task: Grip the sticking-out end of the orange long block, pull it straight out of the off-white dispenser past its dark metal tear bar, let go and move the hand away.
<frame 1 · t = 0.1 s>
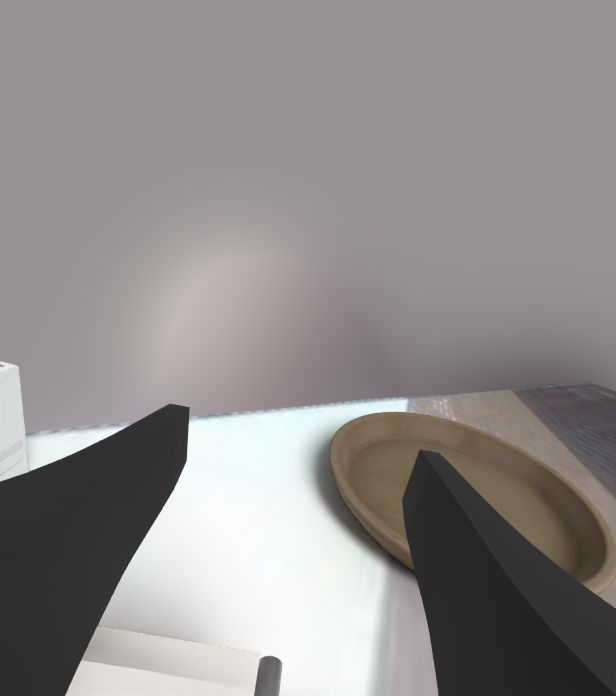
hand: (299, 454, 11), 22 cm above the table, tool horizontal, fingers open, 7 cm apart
plant saucer: (446, 503, 44), on the table
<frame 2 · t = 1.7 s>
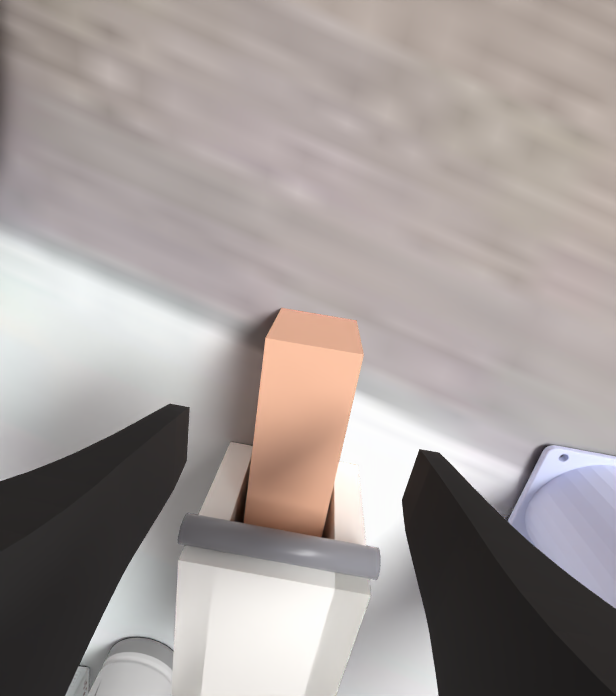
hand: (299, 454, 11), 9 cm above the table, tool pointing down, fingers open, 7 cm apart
supplement box: (54, 677, 33), on the table
dispenser: (280, 525, 24), on the table
travel mug: (149, 656, 31), on the table
orange long block: (297, 437, 22), resting in dispenser
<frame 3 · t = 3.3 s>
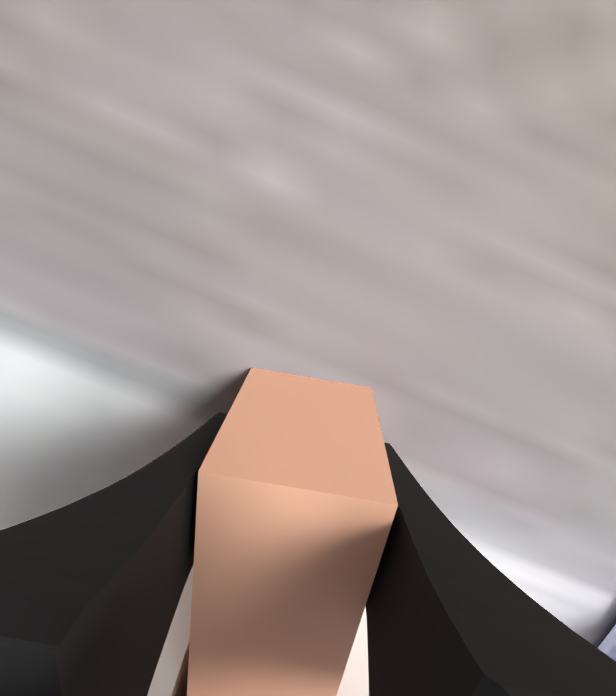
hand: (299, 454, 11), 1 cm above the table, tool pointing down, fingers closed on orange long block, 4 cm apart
dispenser: (258, 654, 17), on the table
orange long block: (281, 550, 15), resting in dispenser, touching gripper
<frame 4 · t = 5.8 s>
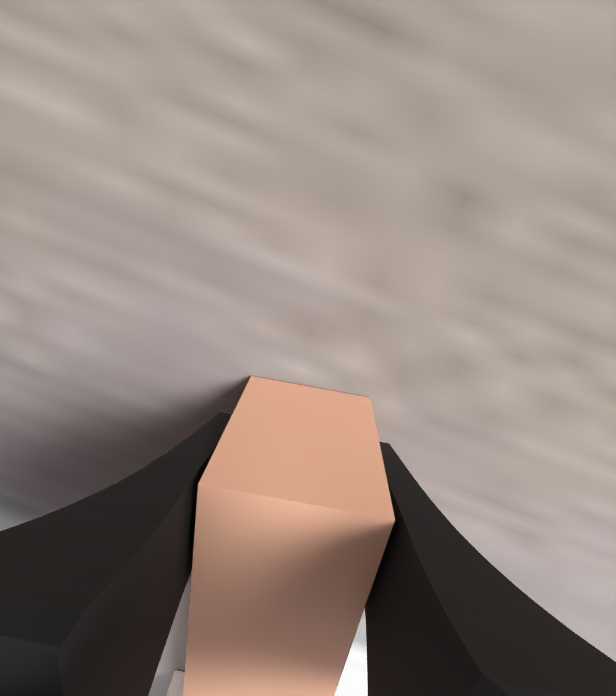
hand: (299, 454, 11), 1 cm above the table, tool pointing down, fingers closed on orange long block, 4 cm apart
orange long block: (277, 556, 15), on the table, touching gripper
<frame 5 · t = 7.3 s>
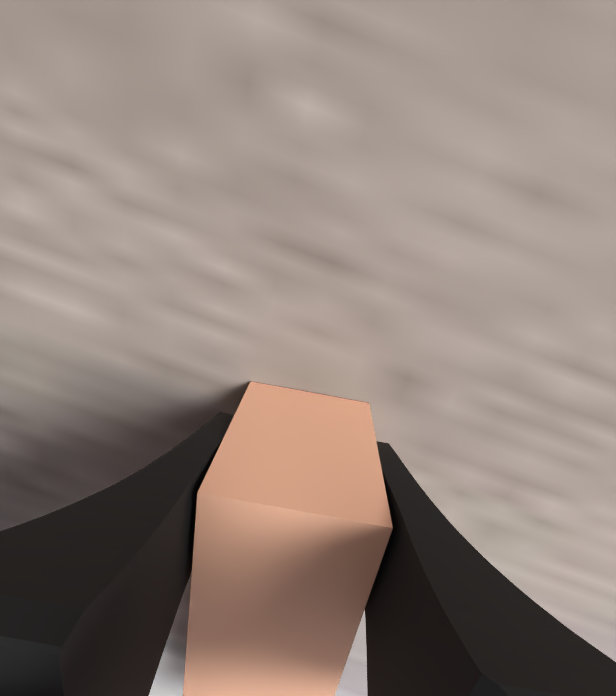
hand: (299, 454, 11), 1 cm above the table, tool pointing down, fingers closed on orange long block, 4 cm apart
orange long block: (276, 560, 15), on the table, touching gripper
when the fingers open (1 cm above the table, at t = 8.4 s): orange long block stays where it is, on the table.
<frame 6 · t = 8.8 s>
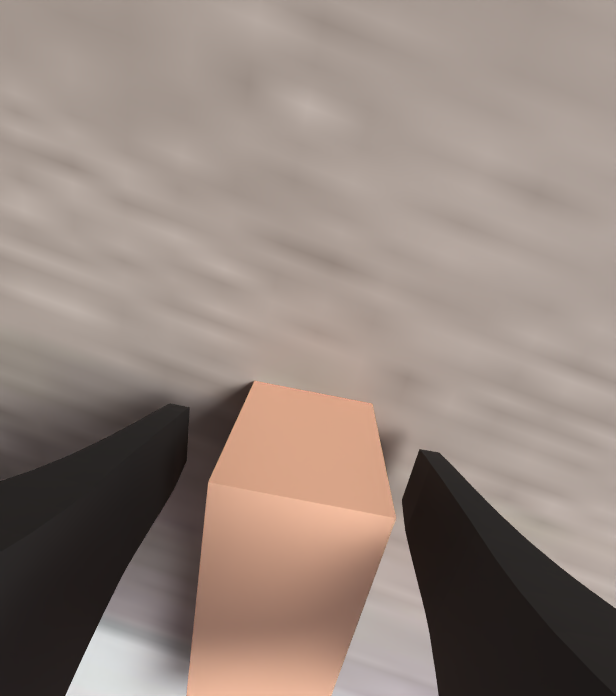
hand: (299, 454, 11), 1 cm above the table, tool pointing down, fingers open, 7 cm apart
orange long block: (278, 554, 15), on the table
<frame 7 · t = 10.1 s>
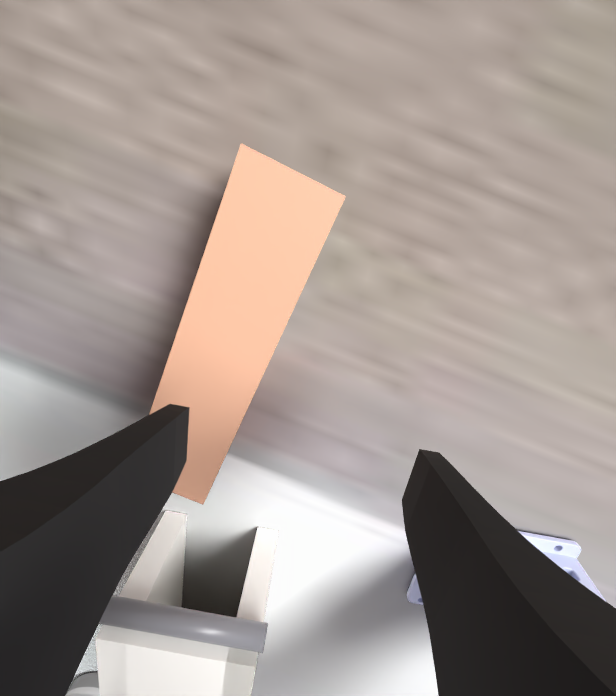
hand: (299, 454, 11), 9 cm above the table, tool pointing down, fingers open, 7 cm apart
dispenser: (216, 578, 27), on the table
travel mug: (109, 688, 34), on the table
orange long block: (244, 324, 20), on the table
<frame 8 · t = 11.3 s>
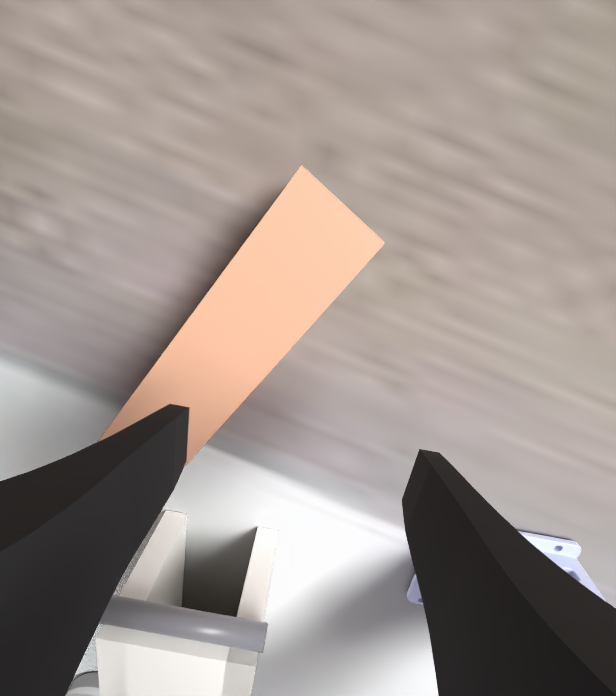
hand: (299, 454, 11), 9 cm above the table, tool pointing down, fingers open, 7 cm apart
dispenser: (216, 578, 27), on the table
travel mug: (109, 688, 34), on the table
orange long block: (245, 324, 20), on the table
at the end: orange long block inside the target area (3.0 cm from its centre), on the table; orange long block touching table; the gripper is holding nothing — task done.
